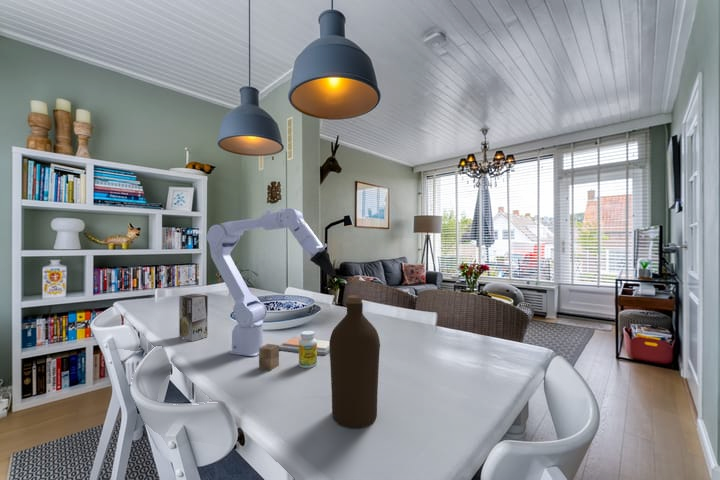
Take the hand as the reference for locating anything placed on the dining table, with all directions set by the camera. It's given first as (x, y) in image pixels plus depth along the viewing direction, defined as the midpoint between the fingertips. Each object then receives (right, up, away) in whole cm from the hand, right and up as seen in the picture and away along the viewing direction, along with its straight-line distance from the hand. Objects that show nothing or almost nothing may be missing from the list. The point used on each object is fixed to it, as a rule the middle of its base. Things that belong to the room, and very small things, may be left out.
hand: (332, 274), depth 97 cm
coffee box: (-55, -27, +21) cm, 65 cm away
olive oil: (+8, -26, -32) cm, 42 cm away
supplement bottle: (-7, -27, -5) cm, 28 cm away
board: (-9, -26, +10) cm, 30 cm away
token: (-18, -26, -7) cm, 33 cm away
